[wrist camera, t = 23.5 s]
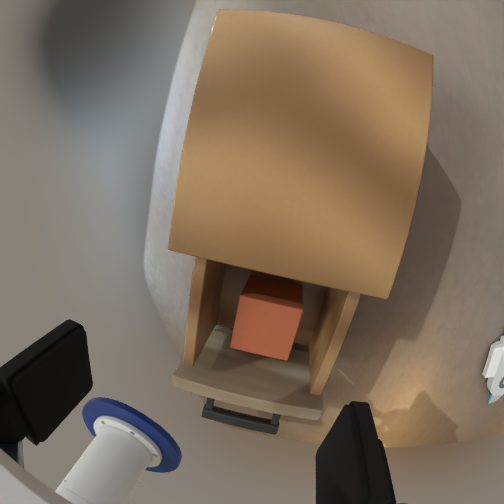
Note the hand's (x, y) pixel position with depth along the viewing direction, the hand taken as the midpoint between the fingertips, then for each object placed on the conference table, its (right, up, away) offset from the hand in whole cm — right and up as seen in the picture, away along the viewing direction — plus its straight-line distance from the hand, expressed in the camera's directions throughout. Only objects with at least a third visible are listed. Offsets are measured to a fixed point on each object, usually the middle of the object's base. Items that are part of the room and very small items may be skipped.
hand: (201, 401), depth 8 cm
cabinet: (+6, +13, +14) cm, 20 cm away
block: (+3, +1, +15) cm, 16 cm away
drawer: (+3, -1, +17) cm, 17 cm away
